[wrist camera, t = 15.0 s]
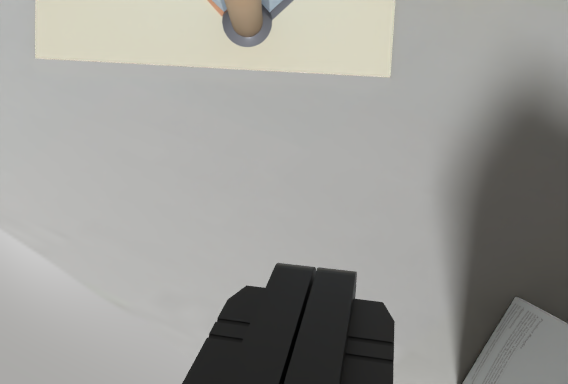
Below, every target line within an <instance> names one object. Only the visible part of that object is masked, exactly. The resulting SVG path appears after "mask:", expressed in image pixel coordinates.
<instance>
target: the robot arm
mask: <svg viewBox="0 0 568 384" xmlns="http://www.w3.org/2000/svg"><path fill="white" fill-rule="evenodd" d="M356 277H357V272H354V271H345V270H336V269H327V268H317V271H316V268H315V267H308V266H300V265H291V264H282V263H277V264H276V266H275V268H274V270H273V272H272V274H271V277H270V279H269V281H268V284H267V286H266V288H261V287H253V286H246V287H244V288H243V289H241V290H240V291H239V292H237V293H236V294H235V295H233V296H232V297H231V298H229V299H228V300H227V302H226V304H225V306H224V307H223V309H222V311H221V313H220V315H219V317H218V320H217V322H215V324H214V326H213V328H212V330H211V331H210V333H209V338H207V339H206V341H205V343H204V344H203V346H202V348H201V350H200V352H199V354H198V356H197V357H196V359H195V361H194V363H193V365H192V367H191V369H190V370H189V372H188V374H187V376H186V378H185V380H184V381H183V383H182V384H393V360H394V320H393V318H392V317H391V315H390V313H389V312H388V310H387V308H386V307H385V305H384V303H383V302H376V301H368V300H360V299H355V292H356Z"/></svg>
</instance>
